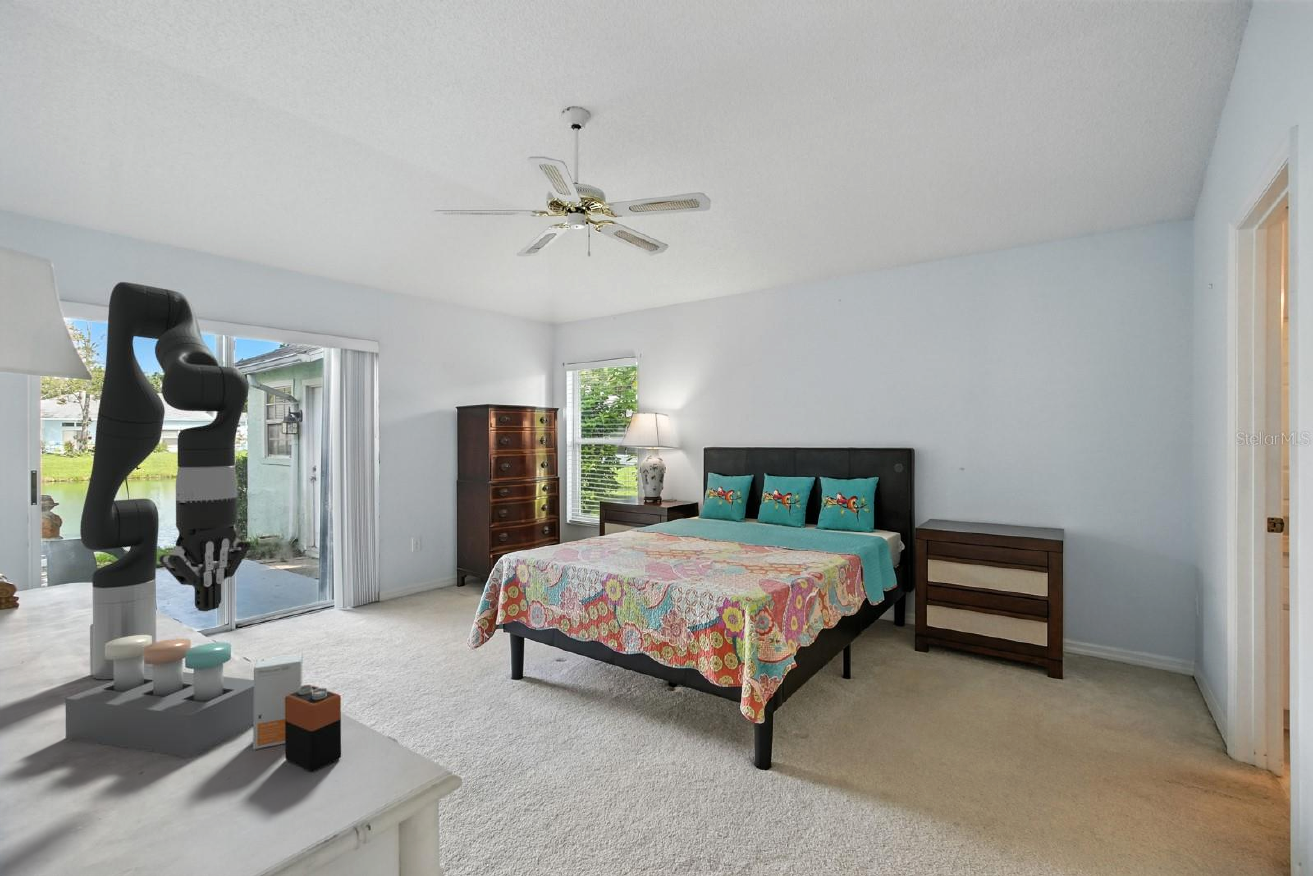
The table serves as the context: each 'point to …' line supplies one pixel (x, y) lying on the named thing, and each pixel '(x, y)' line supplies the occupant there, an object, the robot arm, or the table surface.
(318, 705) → the battery
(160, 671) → the knob mid
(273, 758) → the table surface
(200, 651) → the knob
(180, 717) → the mount
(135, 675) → the knob
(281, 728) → the skincare box
